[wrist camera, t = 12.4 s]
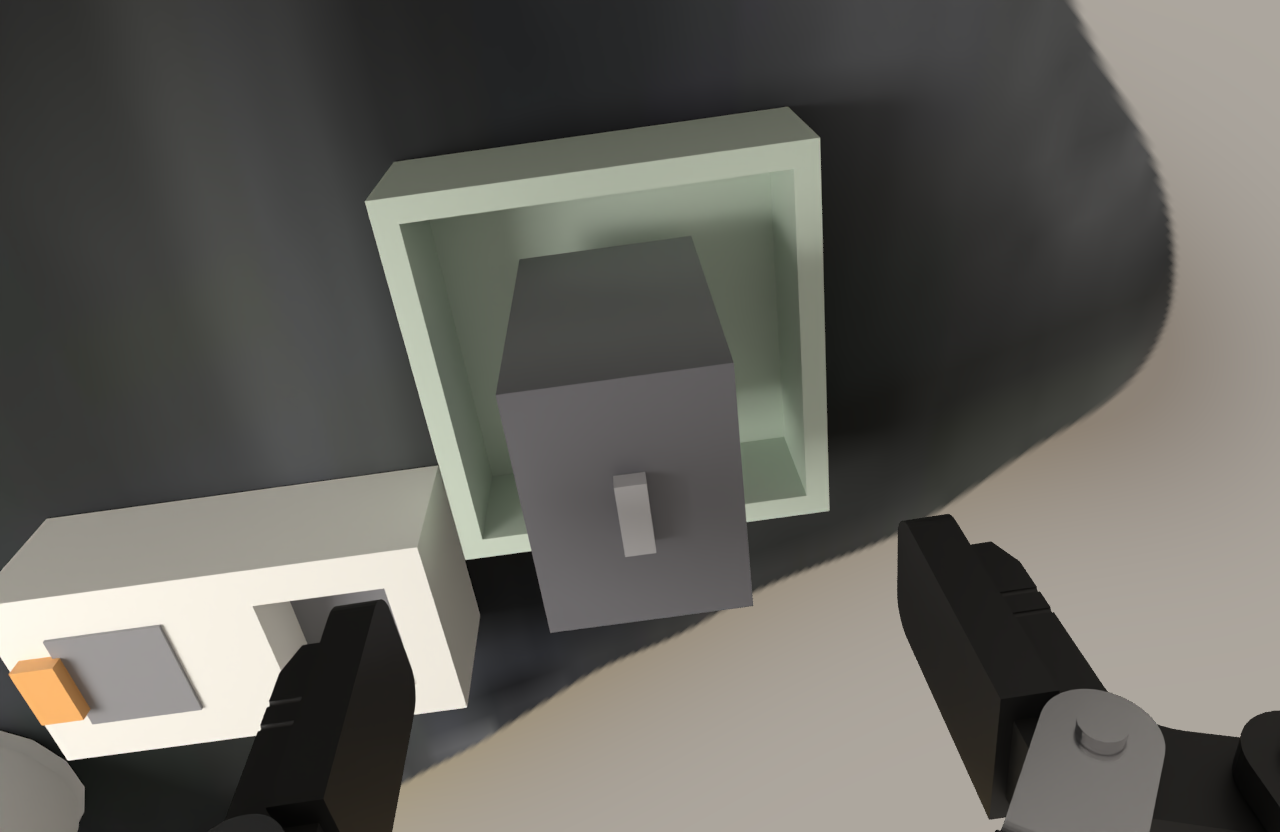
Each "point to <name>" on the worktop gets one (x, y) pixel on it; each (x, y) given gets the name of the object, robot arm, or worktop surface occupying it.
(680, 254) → the block
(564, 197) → the tray
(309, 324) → the worktop surface
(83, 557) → the power strip
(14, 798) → the foam cup
